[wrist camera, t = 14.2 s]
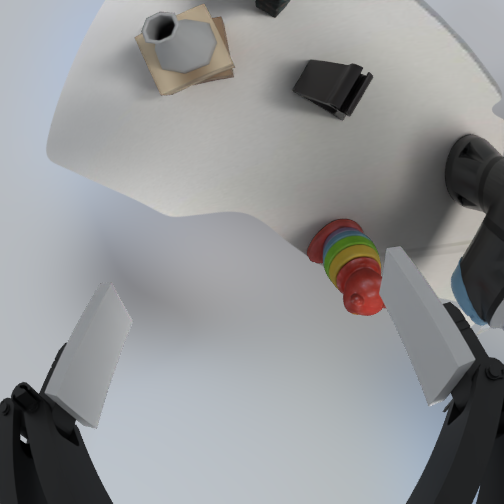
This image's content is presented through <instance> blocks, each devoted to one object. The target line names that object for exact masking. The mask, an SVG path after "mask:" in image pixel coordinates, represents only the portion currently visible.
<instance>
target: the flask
mask: <svg viewBox="0 0 504 504" xmlns="http://www.w3.org/2000/svg"><path fill="white" fill-rule="evenodd" d="M142 34H143V37H144V39H145V42H146V43H153V44H155V52H156V55H157V57H158V60H159V62H160V65H161V67H162V70H168V71H174V72H179V73H184V74H186V73H188V72H191V71H193V70H196V69H198V68H201V67H203V66H206V65H209V63H210V61H211V58H212V55H213V53H214V50H215V47H216V45H217V41H216V38H215V36H214V33H213V31H212V28H211V26H210V23H206V22H201V21H195V20H188V19H183V20H179V21H178V19H177V17H176V15H175V13H169V12H159V13H156V14H154V15H152V16H150V17H148V18H146V20H145V23H144V26H143V28H142Z"/></svg>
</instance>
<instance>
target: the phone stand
mask: <svg viewBox="0 0 504 504" xmlns="http://www.w3.org/2000/svg"><path fill="white" fill-rule="evenodd" d="M362 69H363V67H361V66H359V65H356V64H350V65H344V64H338V63H332V62H325V61H318V60H310V61H309V63H308V65H307V67H306V68H305V70H304V72H303V73H302V75H301V77H300V78H299V80H298V82H297V84H296V85H295V87H294V89H293V90H292V91H293V92H295V93H297V94H299V95H301V96H302V97H304V98H306V99H308V100H310V101H311V102H313V103H315V104H316V105H318V106H320V107H322V108H323V109H325V110H327V111H328V112H330V113H332V114H333V115H335V116H336V117H338V118H339V119H341V120H344V118H345V116H346V115H347V116H351V114H352V113H353V111H354V109H355V107H356V106H357V104H358V102H359V101H360V99H361V97H362V96H363V94H364V92H365V90H366V89H367V87H368V85H369V84H370V82H371V80H372V79H373V75H372V74H371V73H370V72H368V74H367V75H363V74H361V71H362Z"/></svg>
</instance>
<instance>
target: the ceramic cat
mask: <svg viewBox="0 0 504 504" xmlns="http://www.w3.org/2000/svg"><path fill="white" fill-rule="evenodd" d="M289 2H290V0H256V7H258V8H259V9H261V10H263V11H265V12H266V13H268V14H270V15H272V16H273V17H276V16H277V15H278V14H279V13H280V12H281V11H282V10H283V9H284V8H285V7H286V6H287V4H288V3H289Z"/></svg>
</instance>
